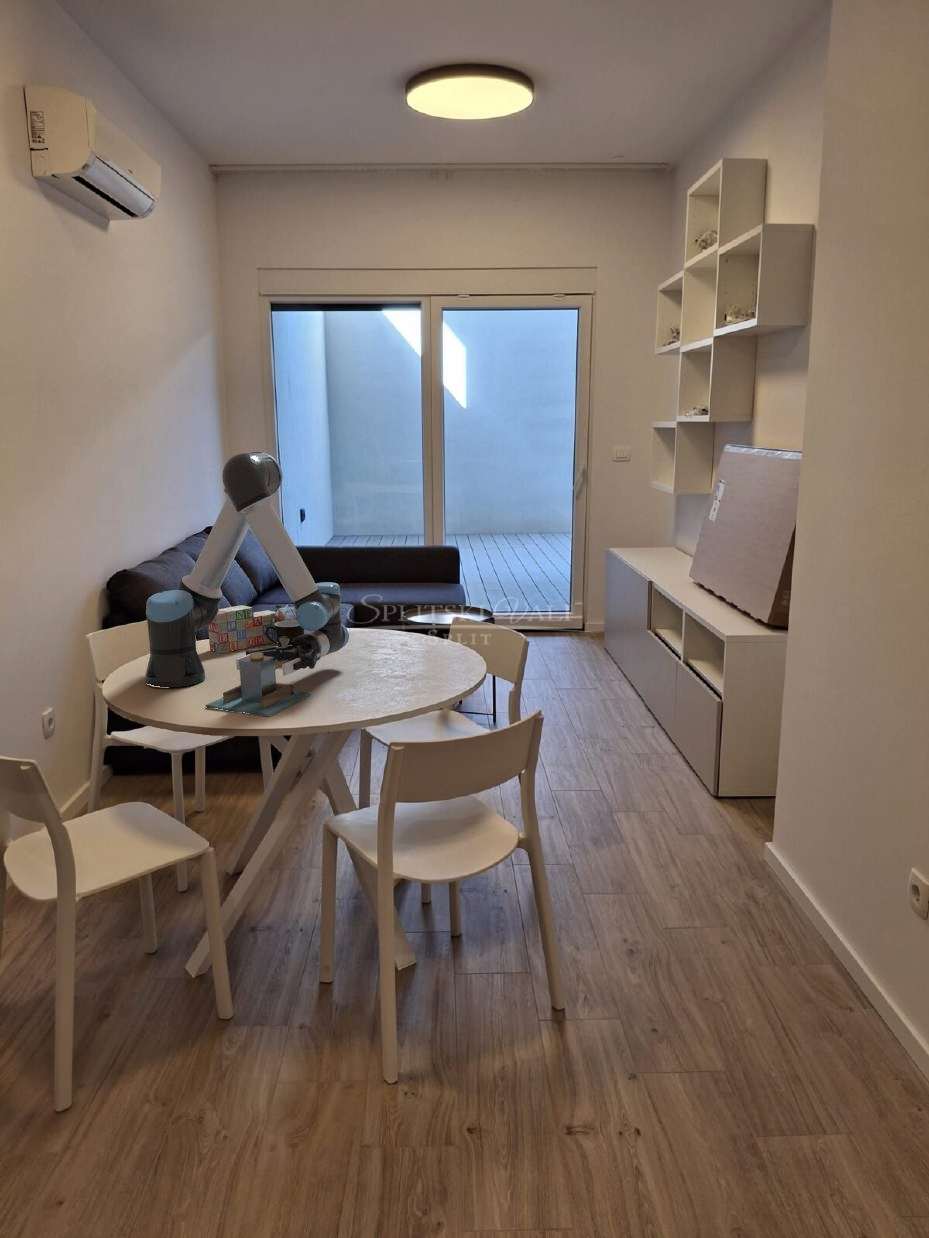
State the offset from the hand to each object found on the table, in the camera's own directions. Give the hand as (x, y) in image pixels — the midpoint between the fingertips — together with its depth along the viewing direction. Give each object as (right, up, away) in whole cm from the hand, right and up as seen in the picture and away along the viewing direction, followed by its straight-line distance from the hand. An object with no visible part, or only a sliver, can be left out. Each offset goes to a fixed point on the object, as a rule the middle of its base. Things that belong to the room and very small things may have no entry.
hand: (260, 667), depth 213 cm
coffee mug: (-2, +1, +45) cm, 45 cm away
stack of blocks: (-18, +3, +57) cm, 60 cm away
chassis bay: (-1, -8, +1) cm, 9 cm away
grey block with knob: (0, -8, +1) cm, 8 cm away
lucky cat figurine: (-2, +4, +60) cm, 61 cm away
